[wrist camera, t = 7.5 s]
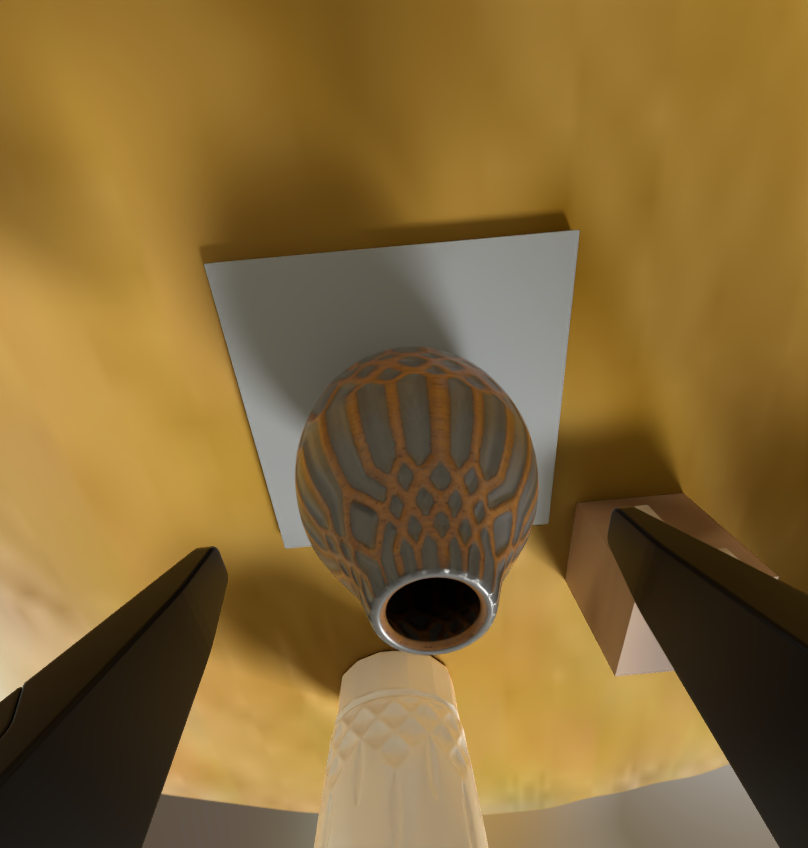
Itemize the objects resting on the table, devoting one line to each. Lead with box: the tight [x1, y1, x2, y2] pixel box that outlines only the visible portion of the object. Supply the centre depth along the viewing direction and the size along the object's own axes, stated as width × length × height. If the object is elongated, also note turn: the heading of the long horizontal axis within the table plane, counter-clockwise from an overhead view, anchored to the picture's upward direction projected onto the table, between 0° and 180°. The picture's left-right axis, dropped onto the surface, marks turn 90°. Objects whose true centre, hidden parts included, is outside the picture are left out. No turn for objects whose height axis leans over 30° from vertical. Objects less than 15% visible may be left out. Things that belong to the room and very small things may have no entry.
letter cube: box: [565, 493, 779, 676], centre depth 17 cm, size 5×5×5 cm
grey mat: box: [204, 230, 580, 549], centre depth 15 cm, size 12×12×1 cm
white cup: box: [314, 650, 488, 848], centre depth 19 cm, size 8×8×10 cm
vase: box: [295, 346, 539, 655], centre depth 11 cm, size 7×7×9 cm
